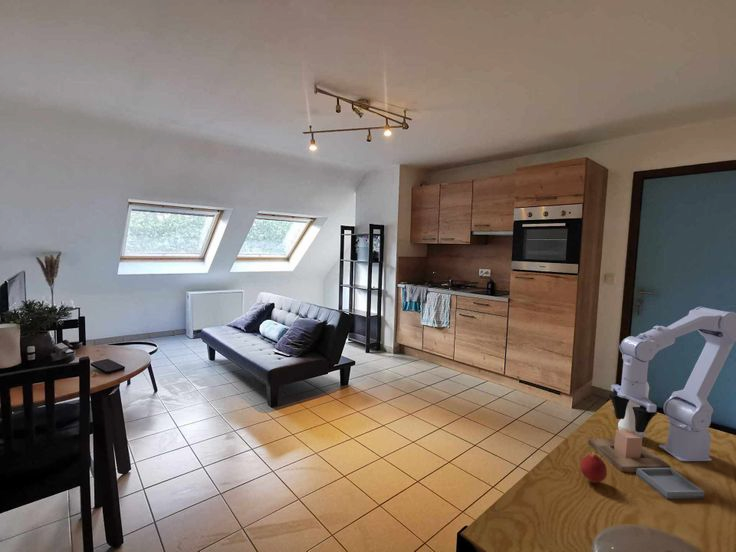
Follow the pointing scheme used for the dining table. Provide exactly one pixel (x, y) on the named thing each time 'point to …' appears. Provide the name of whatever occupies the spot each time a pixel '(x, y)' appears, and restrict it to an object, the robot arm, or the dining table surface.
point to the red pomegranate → (593, 468)
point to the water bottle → (631, 416)
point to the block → (628, 444)
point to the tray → (670, 483)
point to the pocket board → (626, 464)
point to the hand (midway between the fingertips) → (629, 424)
